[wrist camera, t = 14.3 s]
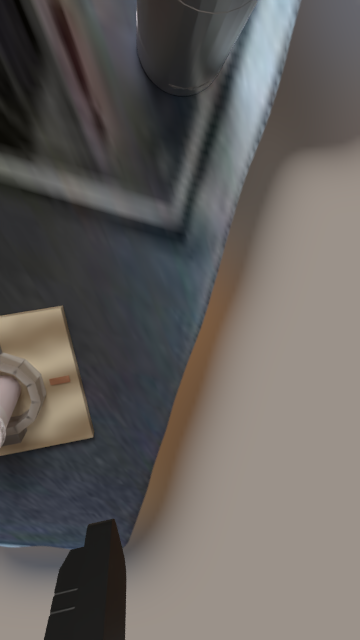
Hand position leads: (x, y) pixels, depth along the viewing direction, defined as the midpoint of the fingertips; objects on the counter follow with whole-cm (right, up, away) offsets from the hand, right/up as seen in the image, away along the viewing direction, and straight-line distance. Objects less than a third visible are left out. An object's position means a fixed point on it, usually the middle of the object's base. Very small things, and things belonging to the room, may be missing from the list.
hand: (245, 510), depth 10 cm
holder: (-24, -2, +31) cm, 39 cm away
